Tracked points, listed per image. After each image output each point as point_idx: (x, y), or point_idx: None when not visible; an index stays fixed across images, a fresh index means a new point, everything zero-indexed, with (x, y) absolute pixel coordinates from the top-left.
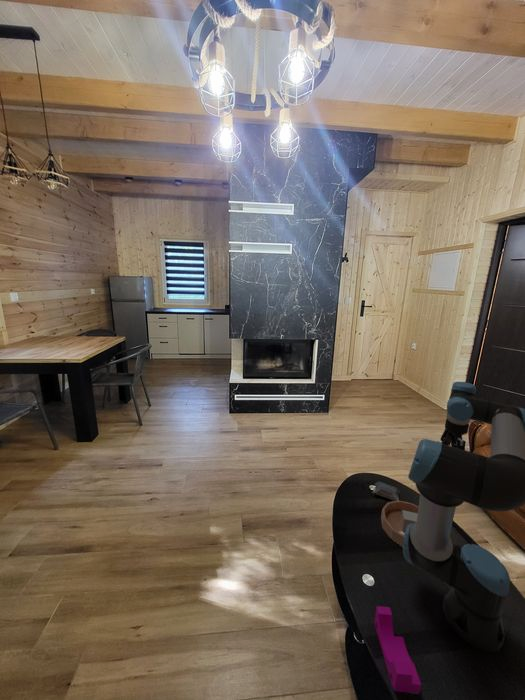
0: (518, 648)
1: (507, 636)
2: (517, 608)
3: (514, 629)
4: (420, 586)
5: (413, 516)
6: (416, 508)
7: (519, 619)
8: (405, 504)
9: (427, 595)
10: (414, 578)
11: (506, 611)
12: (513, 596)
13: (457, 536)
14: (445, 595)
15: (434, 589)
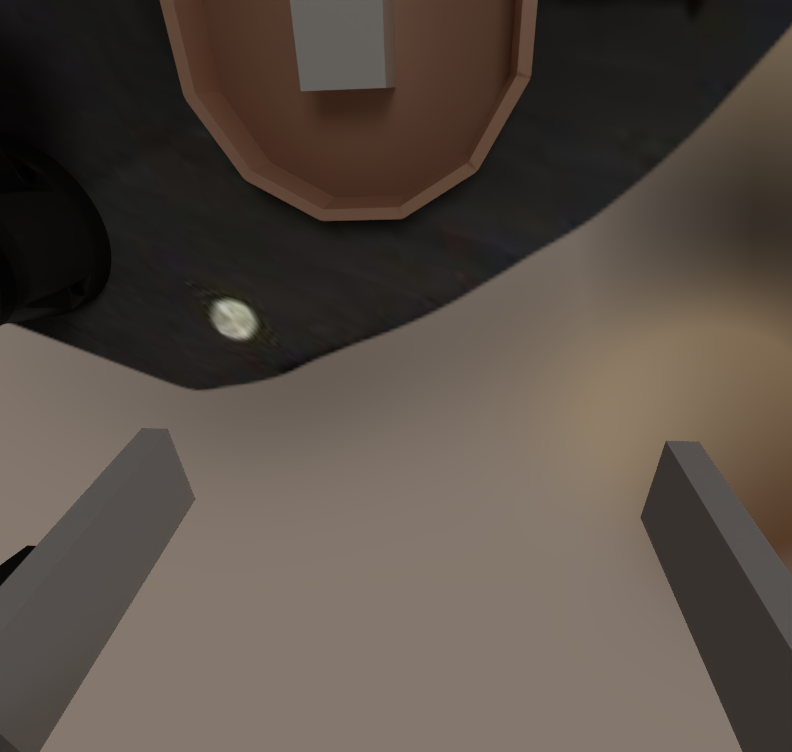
0: (38, 332)
1: (54, 318)
2: (172, 380)
3: (92, 345)
4: (25, 46)
5: (341, 45)
6: (498, 104)
7: (136, 370)
8: (519, 14)
9: (4, 74)
10: (46, 20)
11: (140, 347)
12: (211, 387)
13: (412, 299)
14: (5, 150)
15: (56, 115)
